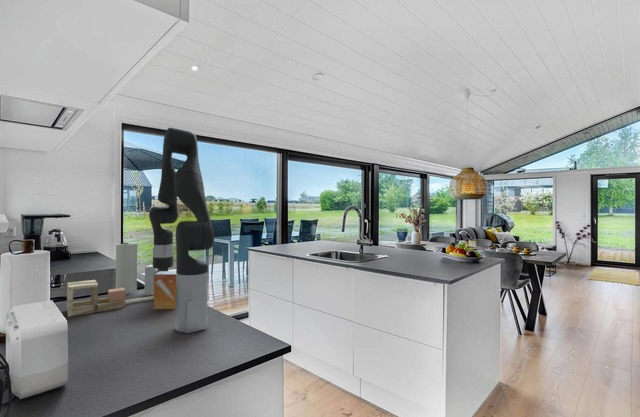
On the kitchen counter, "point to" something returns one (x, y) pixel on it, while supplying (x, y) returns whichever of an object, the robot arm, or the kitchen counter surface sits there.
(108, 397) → the kitchen counter surface
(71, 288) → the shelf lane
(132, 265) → the tall grey box
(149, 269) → the skincare box
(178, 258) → the robot arm
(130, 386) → the kitchen counter surface
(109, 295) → the tethered block
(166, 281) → the small box
